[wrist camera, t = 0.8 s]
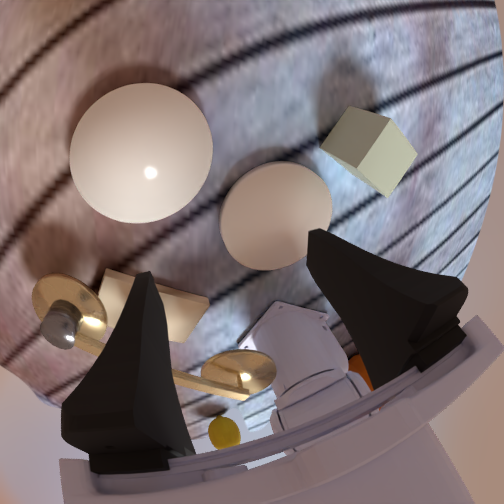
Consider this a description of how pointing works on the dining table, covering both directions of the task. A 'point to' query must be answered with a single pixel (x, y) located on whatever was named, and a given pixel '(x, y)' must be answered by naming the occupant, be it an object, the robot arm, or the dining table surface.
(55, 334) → the balance beam
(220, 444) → the lemon
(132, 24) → the dining table surface
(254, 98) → the dining table surface
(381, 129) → the block
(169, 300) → the balance stand
